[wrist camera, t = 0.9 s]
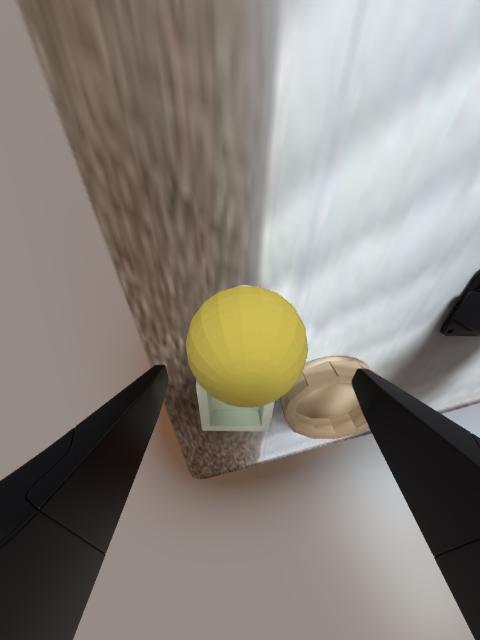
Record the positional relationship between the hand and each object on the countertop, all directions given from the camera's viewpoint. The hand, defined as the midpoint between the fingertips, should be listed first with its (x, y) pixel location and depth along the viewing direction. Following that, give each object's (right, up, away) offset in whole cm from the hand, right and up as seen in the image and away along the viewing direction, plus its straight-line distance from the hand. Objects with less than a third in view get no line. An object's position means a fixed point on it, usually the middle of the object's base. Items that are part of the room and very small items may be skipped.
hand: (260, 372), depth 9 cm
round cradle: (+10, -6, +14) cm, 18 cm away
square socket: (-1, -6, +14) cm, 15 cm away
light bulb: (-1, +5, +8) cm, 9 cm away
